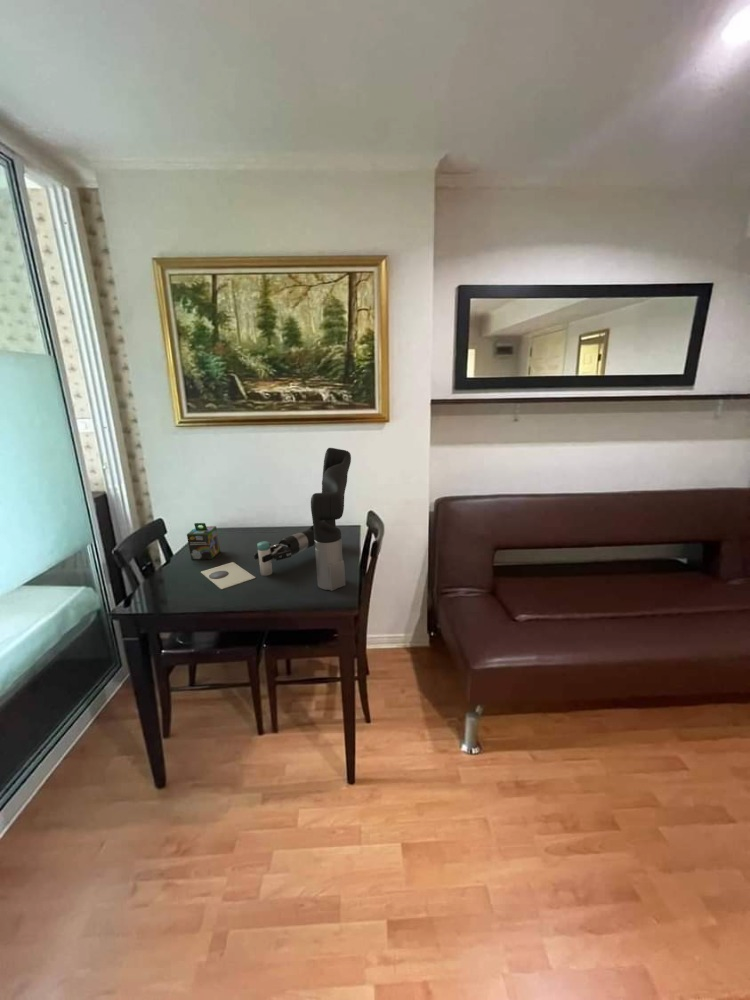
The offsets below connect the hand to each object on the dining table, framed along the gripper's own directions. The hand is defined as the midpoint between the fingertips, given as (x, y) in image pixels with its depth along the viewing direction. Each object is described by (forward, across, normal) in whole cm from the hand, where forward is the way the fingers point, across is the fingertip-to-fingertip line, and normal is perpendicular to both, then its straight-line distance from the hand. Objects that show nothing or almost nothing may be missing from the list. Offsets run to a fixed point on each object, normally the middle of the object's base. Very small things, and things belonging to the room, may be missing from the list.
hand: (258, 558), depth 162 cm
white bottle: (-3, 0, +7) cm, 8 cm away
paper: (+7, -11, +7) cm, 15 cm away
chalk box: (+1, -36, +7) cm, 37 cm away
